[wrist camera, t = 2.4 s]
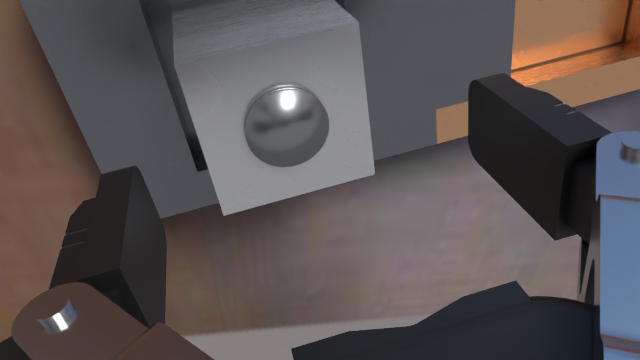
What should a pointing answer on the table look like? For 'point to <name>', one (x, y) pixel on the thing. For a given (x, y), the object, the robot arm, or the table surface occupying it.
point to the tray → (378, 60)
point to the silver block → (274, 96)
